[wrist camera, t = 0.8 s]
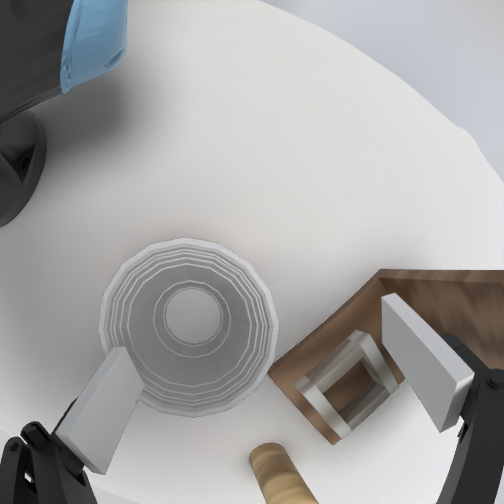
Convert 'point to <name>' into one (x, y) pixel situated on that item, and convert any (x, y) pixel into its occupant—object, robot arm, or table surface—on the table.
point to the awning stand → (374, 352)
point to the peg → (279, 476)
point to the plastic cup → (191, 325)
